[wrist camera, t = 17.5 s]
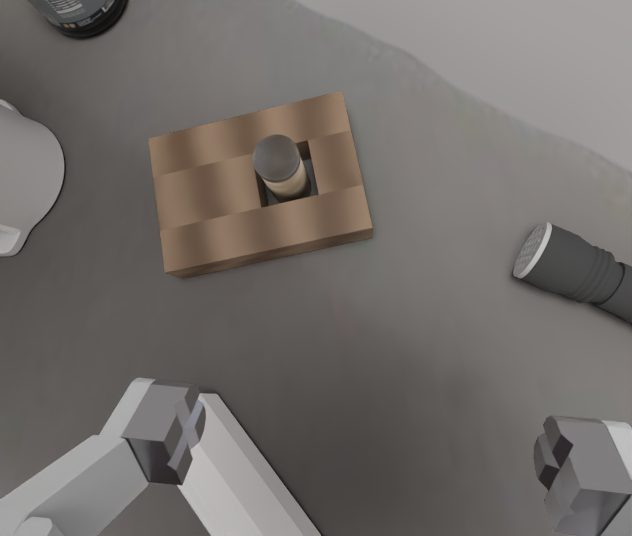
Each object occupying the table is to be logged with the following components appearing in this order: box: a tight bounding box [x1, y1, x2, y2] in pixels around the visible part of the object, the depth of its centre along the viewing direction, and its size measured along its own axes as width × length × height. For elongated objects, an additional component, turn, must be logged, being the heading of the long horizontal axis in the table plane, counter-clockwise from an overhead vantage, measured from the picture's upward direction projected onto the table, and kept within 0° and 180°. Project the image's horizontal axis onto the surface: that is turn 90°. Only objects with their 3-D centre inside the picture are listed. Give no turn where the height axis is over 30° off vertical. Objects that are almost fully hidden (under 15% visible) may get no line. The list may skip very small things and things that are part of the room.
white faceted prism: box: [177, 393, 321, 536], centre depth 38 cm, size 7×7×24 cm
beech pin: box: [252, 134, 311, 203], centre depth 41 cm, size 4×4×8 cm
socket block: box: [148, 91, 373, 278], centre depth 43 cm, size 20×14×4 cm
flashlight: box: [513, 222, 632, 324], centre depth 37 cm, size 15×5×5 cm, turn 63°
